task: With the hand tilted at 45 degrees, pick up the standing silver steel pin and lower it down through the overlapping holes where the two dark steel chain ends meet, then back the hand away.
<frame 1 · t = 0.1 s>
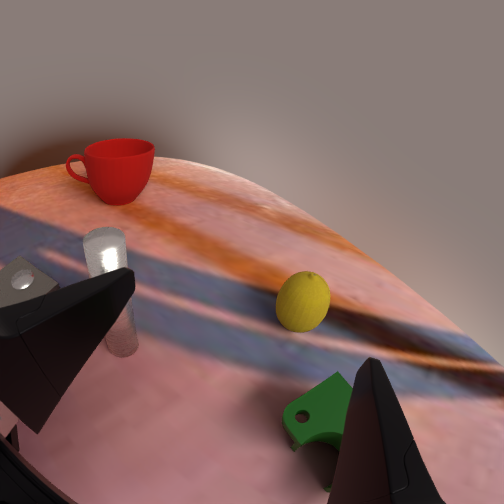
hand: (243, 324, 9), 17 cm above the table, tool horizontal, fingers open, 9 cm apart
clamp: (328, 456, 20), on the table
lemon: (291, 328, 32), on the table
ceramic cup: (109, 198, 48), on the table
steel pin: (123, 344, 25), on the table
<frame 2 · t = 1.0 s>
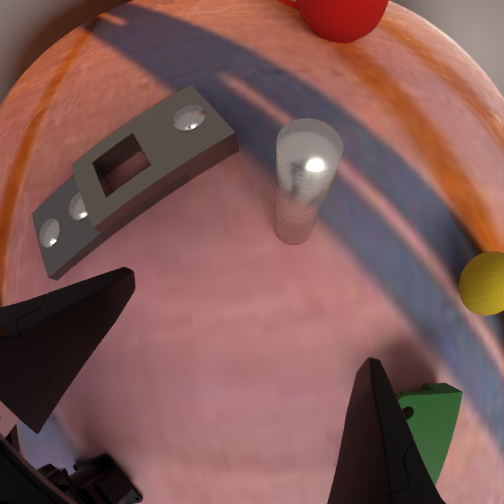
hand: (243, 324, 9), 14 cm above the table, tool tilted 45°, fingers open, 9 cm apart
clamp: (396, 436, 20), on the table
lemon: (463, 290, 22), on the table
chain end 2: (131, 177, 27), on the table
ceramic cup: (322, 30, 32), on the table
steel pin: (293, 227, 25), on the table
chain end 1: (131, 177, 27), on the table
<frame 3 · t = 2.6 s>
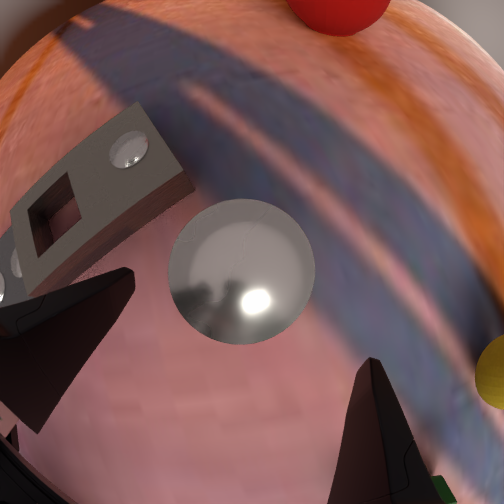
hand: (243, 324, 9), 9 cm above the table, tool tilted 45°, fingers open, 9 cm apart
lemon: (479, 366, 16), on the table
chain end 2: (72, 225, 21), on the table
ceramic cup: (315, 21, 26), on the table
steel pin: (262, 303, 18), on the table
chain end 1: (72, 225, 21), on the table
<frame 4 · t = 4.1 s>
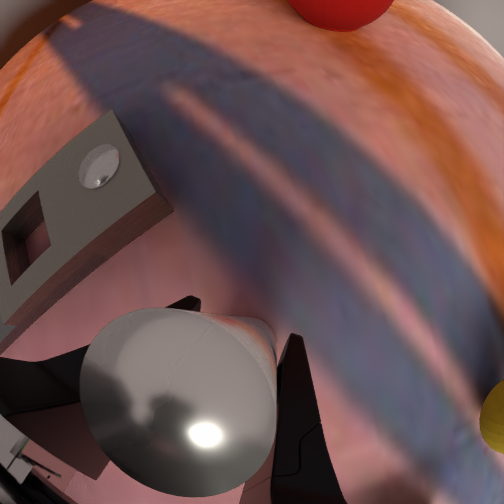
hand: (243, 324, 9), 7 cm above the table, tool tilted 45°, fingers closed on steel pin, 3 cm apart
lemon: (485, 403, 13), on the table
chain end 2: (47, 247, 18), on the table
ceramic cup: (314, 15, 23), on the table
steel pin: (248, 344, 16), on the table, touching gripper
chain end 1: (47, 247, 18), on the table
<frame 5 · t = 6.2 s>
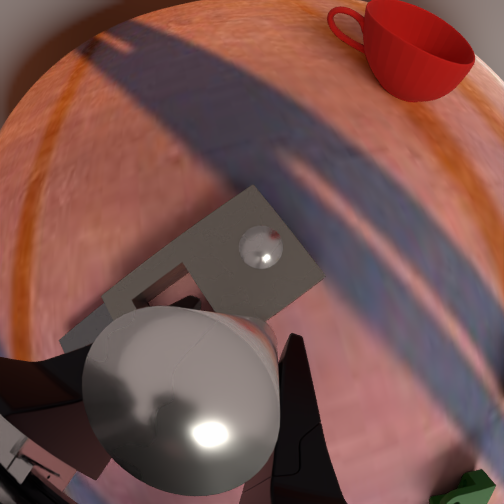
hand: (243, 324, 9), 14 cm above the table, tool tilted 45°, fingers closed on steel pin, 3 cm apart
chain end 2: (185, 311, 23), on the table
ceramic cup: (386, 79, 28), on the table
steel pin: (248, 344, 16), point 7 cm above the table, touching gripper
chain end 1: (185, 311, 23), on the table
when the fingers open (7 cm above the table, at t = 8.4 s): steel pin stays where it is, on the table.
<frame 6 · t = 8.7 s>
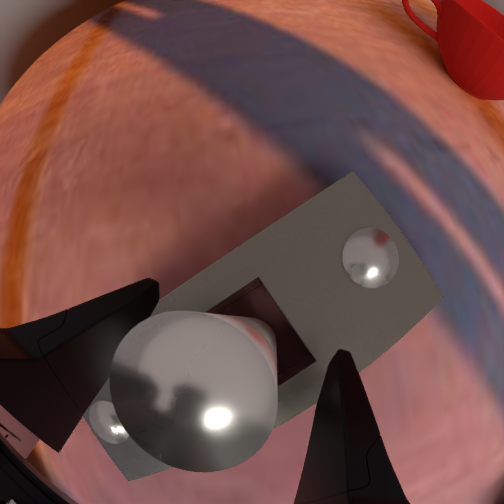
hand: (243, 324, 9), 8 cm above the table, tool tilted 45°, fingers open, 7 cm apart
chain end 2: (249, 343, 17), on the table
ceramic cup: (453, 72, 21), on the table
steel pin: (249, 343, 17), on the table
chain end 1: (249, 343, 17), on the table
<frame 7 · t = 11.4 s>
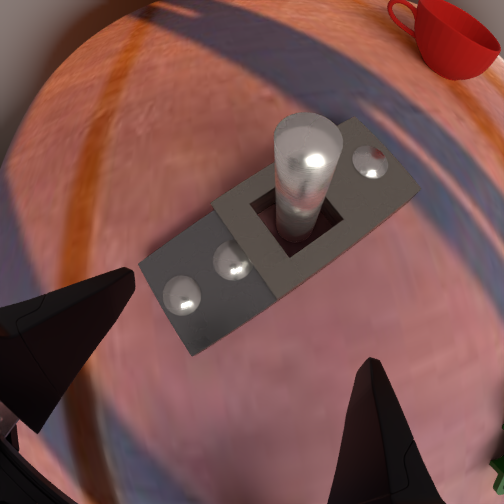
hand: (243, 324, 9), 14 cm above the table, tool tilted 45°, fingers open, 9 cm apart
chain end 2: (294, 223, 24), on the table
ceramic cup: (429, 61, 29), on the table
steel pin: (294, 224, 24), on the table
chain end 1: (294, 223, 24), on the table
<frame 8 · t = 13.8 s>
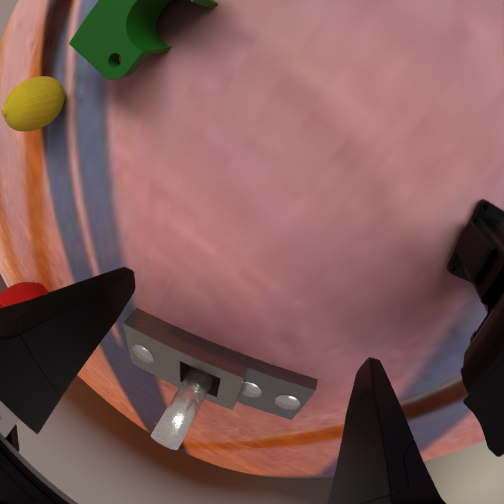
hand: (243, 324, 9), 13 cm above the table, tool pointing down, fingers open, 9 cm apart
clamp: (176, 12, 15), on the table
lemon: (65, 96, 22), on the table
chain end 2: (208, 362, 34), on the table
ceramic cup: (52, 305, 45), on the table
steel pin: (208, 362, 34), on the table
chain end 1: (208, 362, 34), on the table
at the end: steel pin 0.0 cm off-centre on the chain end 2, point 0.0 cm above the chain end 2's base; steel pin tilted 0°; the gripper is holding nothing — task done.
